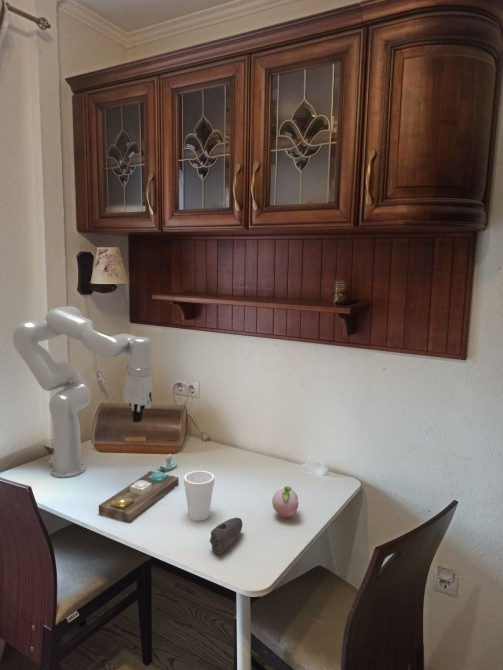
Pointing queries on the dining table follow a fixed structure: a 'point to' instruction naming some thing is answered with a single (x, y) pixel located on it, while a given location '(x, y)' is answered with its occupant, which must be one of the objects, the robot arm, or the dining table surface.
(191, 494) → the foam cup
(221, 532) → the perforated stone tool
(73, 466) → the robot arm
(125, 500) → the brass button
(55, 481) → the dining table surface
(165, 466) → the pacifier
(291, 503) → the decorative fruit
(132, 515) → the button panel
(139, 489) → the cream button
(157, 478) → the teal button
